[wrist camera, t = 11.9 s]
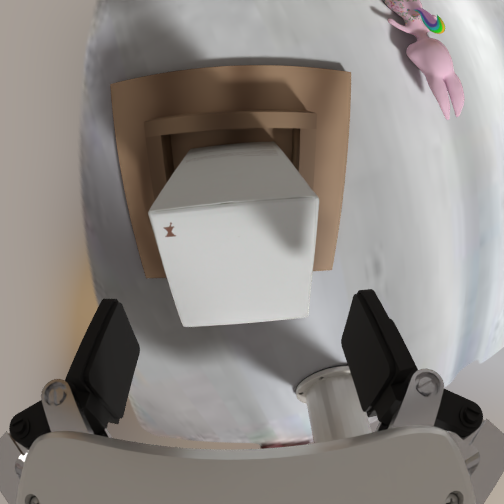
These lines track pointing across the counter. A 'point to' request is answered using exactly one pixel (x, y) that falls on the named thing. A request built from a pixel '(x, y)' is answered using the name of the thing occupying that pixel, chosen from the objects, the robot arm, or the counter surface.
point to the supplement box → (237, 235)
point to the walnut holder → (233, 134)
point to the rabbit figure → (430, 53)
